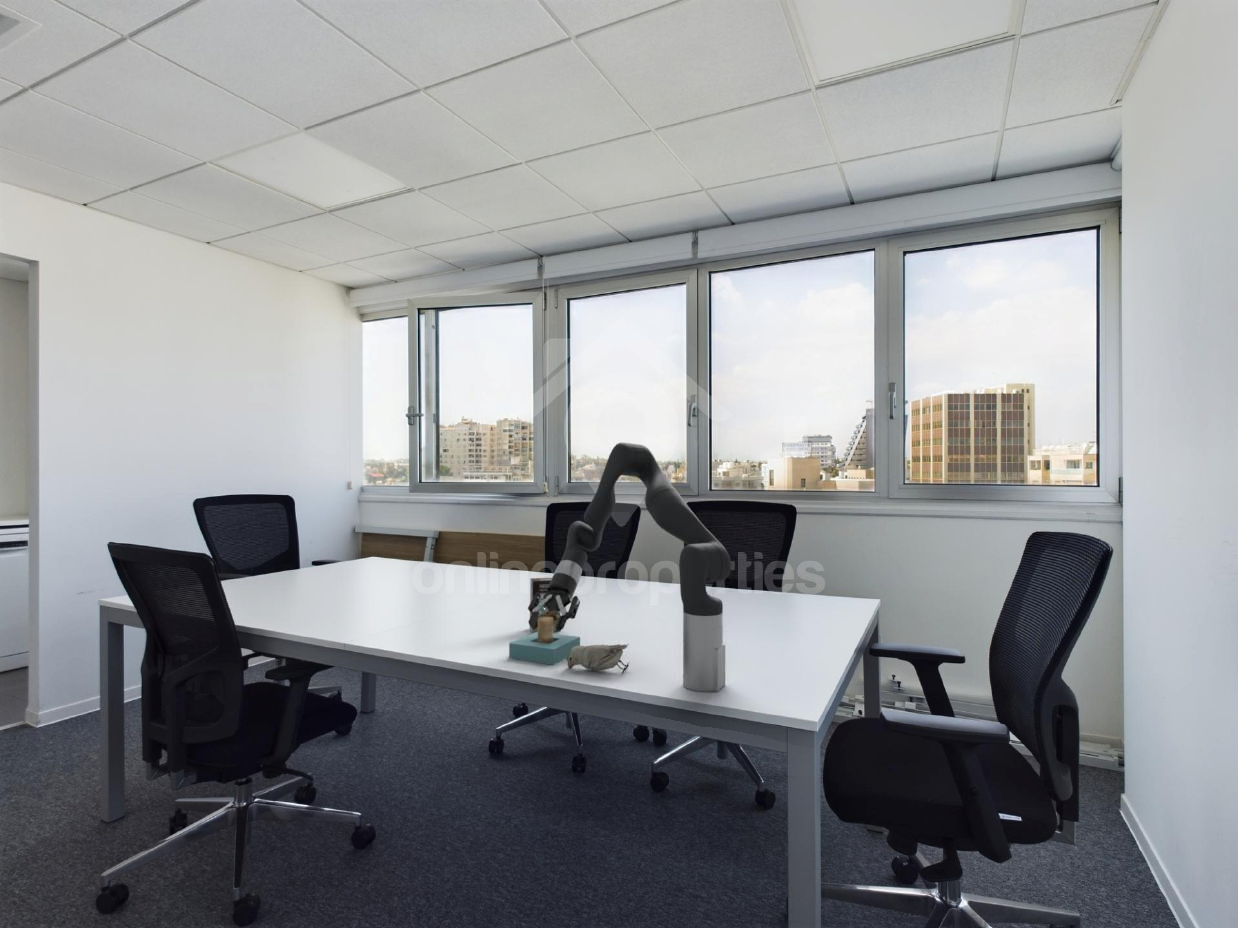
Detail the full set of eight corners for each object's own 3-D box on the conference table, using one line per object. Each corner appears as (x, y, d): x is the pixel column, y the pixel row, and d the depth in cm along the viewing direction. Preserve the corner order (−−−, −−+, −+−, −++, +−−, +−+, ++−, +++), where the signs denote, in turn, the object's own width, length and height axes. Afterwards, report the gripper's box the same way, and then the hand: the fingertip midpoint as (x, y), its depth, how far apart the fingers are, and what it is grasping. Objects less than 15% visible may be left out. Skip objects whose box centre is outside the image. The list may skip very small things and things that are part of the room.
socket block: (580, 651, 181) (580, 636, 181) (553, 664, 168) (553, 649, 168) (537, 645, 187) (537, 631, 187) (509, 657, 174) (509, 642, 174)
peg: (556, 653, 179) (556, 617, 179) (547, 657, 175) (548, 620, 175) (543, 651, 180) (543, 615, 180) (534, 655, 177) (534, 618, 177)
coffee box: (532, 633, 201) (532, 581, 201) (529, 628, 207) (529, 577, 208) (561, 631, 204) (561, 579, 204) (557, 626, 210) (557, 576, 210)
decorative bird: (571, 665, 168) (571, 636, 168) (631, 671, 163) (631, 641, 164) (564, 671, 163) (564, 642, 163) (625, 677, 158) (625, 647, 158)
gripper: (539, 570, 188) (517, 617, 178) (582, 573, 182) (562, 622, 172) (549, 585, 193) (527, 632, 183) (591, 589, 187) (571, 638, 176)
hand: (544, 627), depth 177 cm, fingers open, 8 cm apart
